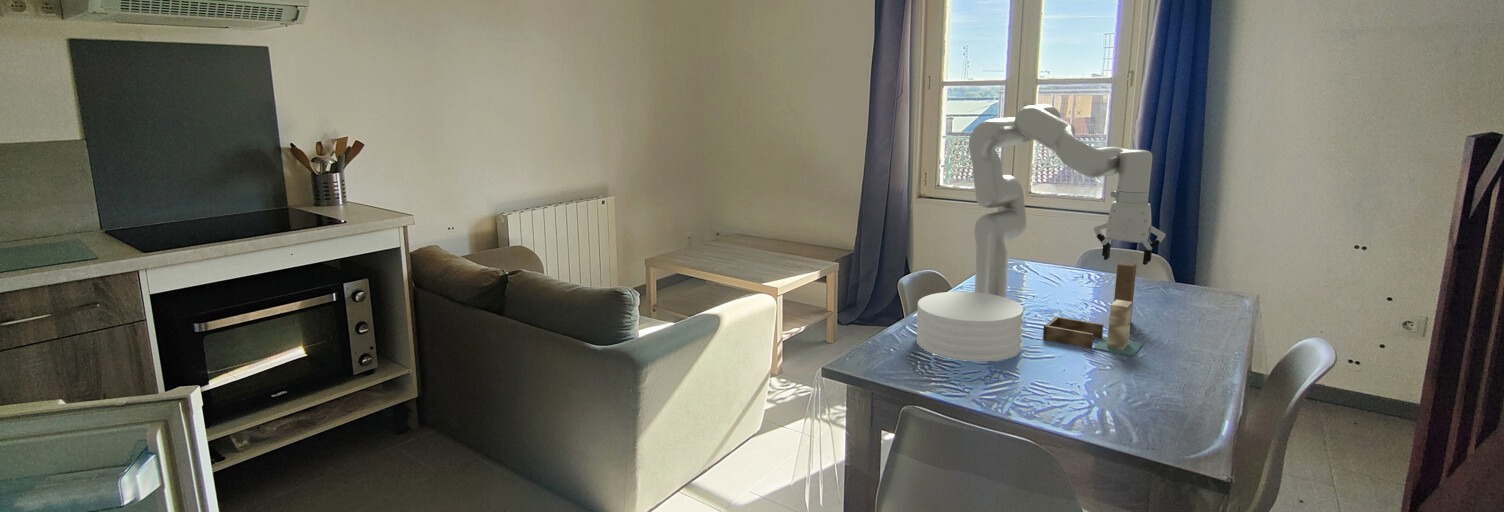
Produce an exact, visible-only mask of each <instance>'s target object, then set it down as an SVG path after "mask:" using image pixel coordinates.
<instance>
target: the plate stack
mask: <svg viewBox="0 0 1504 512" xmlns="http://www.w3.org/2000/svg"><path fill="white" fill-rule="evenodd" d="M916 315H917V319H916V341H917V342H916V345H917V344H918V345H919V346H920V347H921V348H923V349H924V350H926V351H929V352H931V353H934V354H937V355H939V356H943V357H946V358H951V359H956V360H963V361H964V360H966V361H980V362H979V363H986V362H985V361H995V362H1000V361H999V360H1001V361H1005V360H1004V359H1006V360H1008V358H1009V359H1013V358H1014V357H1016V356H1018V355H1017V354H1020V353H1021V350H1022V339H1023V338H1022V337H1023V336H1022V333H1023V332H1022V331H1023V323H1024V322H1023V320H1024V319H1023V316H1024V307H1023V306H1022V305H1021V304H1020V303H1019V302H1017V301H1015V300H1013V299H1011V298H1009V297H1008V298H1007V297H1006V298H1005V297H1002V296H997V295H992V294H986V293H978V292H975V291H946V292H945V291H944V292H937V293H931V294H928V295H926V296H922V297H921V298H920V299H919V300H918V301H917V313H916ZM918 345H917V346H918ZM919 346H918V347H919ZM920 347H919V348H920ZM921 348H920V349H921ZM924 350H923V351H924ZM956 360H955V361H956ZM963 361H962V362H963ZM981 361H983V362H981Z"/></svg>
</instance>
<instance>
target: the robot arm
mask: <svg viewBox="0 0 1504 512" xmlns="http://www.w3.org/2000/svg"><path fill="white" fill-rule="evenodd" d="M1075 135H1076V127H1075V125H1073V124H1072V123H1070V122H1068V121H1066V120H1064V119H1062V116H1061V113H1060V111H1059V110H1058V109H1057V108H1056V107H1055V106H1053V105H1050V104H1037V105H1035V104H1034V105H1032V104H1031V105H1026V106H1024V107H1022V108H1021V109H1019V110H1018V111H1017V112H1016V113H1015V116H1014V117H1002V118H1001V117H1000V118H991V119H986V120H984V121H981V122H980V123H979V124H977V125H976V126H975V127H974V128H973V129H972V132H971V133H970V135H969V138H968V139H969V140H968V149H969V155H970V159H971V164H972V173H973V174H972V176H973V182H974V183H973V184H974V192H975V193H974V194H975V199H976V202H977V204H978V205H979V206H980V208H983V209H993V208H995V209H996V208H997V211H993V212H988V213H986V214H983V215H982V216H980V217H979V218H978V219H977V220H976V221H975V224H974V227H973V229H974V230H973V232H974V240H975V247H976V248H975V254H976V255H975V275H974V276H975V277H974V279H975V280H974V292H978V293H986V294H992V295H997V296H1002V297H1005V298H1007V284H1008V283H1007V282H1008V269H1009V253H1008V250H1007V247H1006V242H1008V241H1012V240H1013V241H1014V240H1017V239H1019V238H1020V237H1022V236H1023V235H1024V234H1025V231H1026V228H1027V216H1026V214H1027V213H1026V207H1025V206H1026V205H1025V196H1024V190H1023V187H1022V184H1021V182H1020V180H1018V179H1017V178H1016V177H1014V176H1012V175H1009V174H1003V167H1002V164H1003V163H1002V161H1001V160H1002V159H1001V157H1000V155H999V154H998V152H997V150H996V149H998V148H1001V147H1013V146H1019V145H1022V144H1025V143H1028V142H1030V141H1035V142H1037V143H1038V144H1040V145H1042V146H1044V147H1046V148H1048V149H1049V150H1052V151H1053V152H1054V153H1055V155H1056V157H1058V159H1059V160H1060V161H1061V162H1062V164H1064V165H1066V166H1067V167H1069V168H1070V169H1072V170H1074V171H1076V172H1078V173H1080V174H1081V175H1084V176H1086V177H1088V178H1089V177H1090V178H1095V179H1096V178H1101V177H1109V176H1115V175H1117V186H1116V190H1115V191H1111V192H1110V197H1111V198H1114V199H1115V200H1114V201H1112V203H1111V206H1110V210H1109V213H1108V218H1107V222H1104V223H1103V224H1099V225H1096V226H1094V227H1093V231H1094V233H1095V235H1096V238H1097V239H1098V241H1100V243H1101V245H1102V252H1101V253H1102V254H1101V256H1102V257H1103V260H1104V261H1106V260H1108V259H1110V256H1111V245H1112V244H1111V243H1110V242H1111V241H1121V242H1128V243H1137V244H1140V243H1141V244H1142V245H1143V246H1144V247H1145V249H1144V251H1143V259H1142V265H1144V266H1147V265H1148V264H1149V263H1150V262H1151V260H1152V253H1153V249H1154V248H1156V247H1157V246H1159V244H1161V242H1163V240H1164V238H1165V237H1166V233H1164V232H1163V231H1162V230H1159V229H1158V228H1156V227H1155V226H1153V225H1152V207H1151V203H1149V196H1150V195H1149V193H1150V186H1151V185H1150V184H1151V175H1152V167H1153V166H1152V165H1153V153H1152V152H1151V151H1150V150H1146V149H1145V150H1144V149H1127V148H1123V147H1120V146H1119V147H1118V146H1107V147H1099V148H1095V147H1092V146H1090V145H1088V144H1087V143H1084V142H1083V141H1081V140H1079V139H1078V138H1076V136H1075ZM1104 229H1106V230H1105V232H1106V233H1105V234H1106V235H1104V233H1102V230H1104ZM1151 233H1152V234H1153V235H1155V236H1157V237H1156V239H1155V240H1154V241H1151V239H1150V238H1151Z"/></svg>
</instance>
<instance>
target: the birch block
mask: <svg viewBox="0 0 1504 512" xmlns="http://www.w3.org/2000/svg"><path fill="white" fill-rule="evenodd" d="M1131 312H1132V313H1133V307H1132V302H1130V301H1123V300H1116V301H1114V300H1113V302H1112V303H1111V304H1110V311H1109V318H1110V320H1108V333H1107V337H1108V342H1107V347H1109V348H1114V349H1120V350H1123V349H1124V348H1125V347H1126V346H1127V345H1128V343H1129V341H1130V330H1131V323H1132V322H1131V321H1132V317H1131Z"/></svg>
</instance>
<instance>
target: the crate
mask: <svg viewBox="0 0 1504 512" xmlns="http://www.w3.org/2000/svg"><path fill="white" fill-rule="evenodd" d="M1103 331H1104V323H1098V322H1092V321H1087V320H1080V319H1075V318H1074V319H1073V318H1068V317H1063V316H1057V315H1056V316H1055V317H1054V318H1052V319H1051V320H1050V321H1048V322H1047V323H1046V324H1045V325H1043V333H1042V340H1044V341H1049V342H1054V343H1060V344H1065V345H1071V346H1074V347H1075V346H1076V347H1081V348H1086V349H1090V350H1091V349H1093V347H1094V346H1093V345H1094V338H1096V339H1100V340H1102V339H1103V335H1104V332H1103Z"/></svg>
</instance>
